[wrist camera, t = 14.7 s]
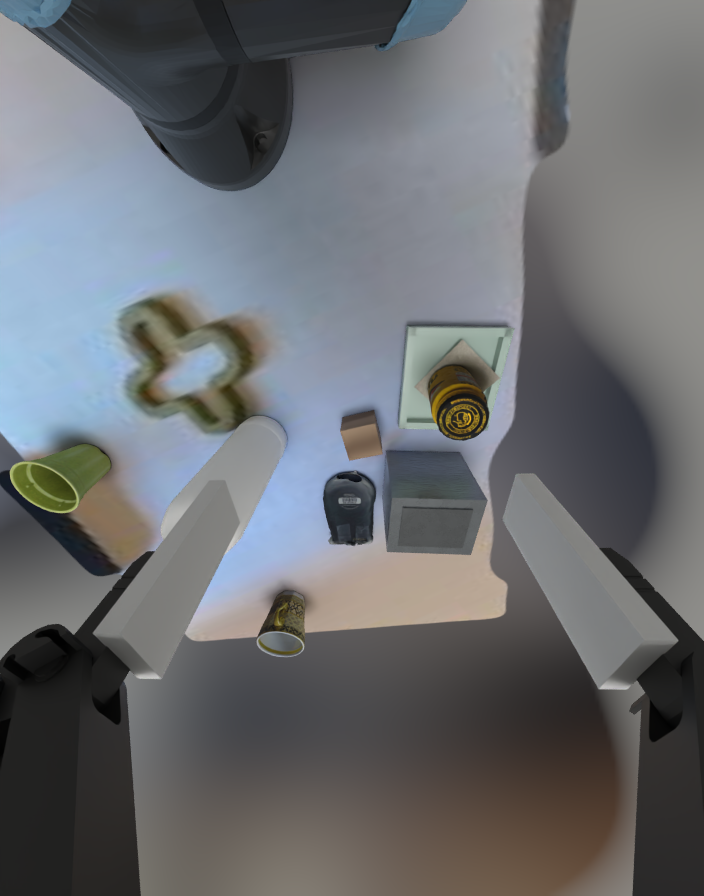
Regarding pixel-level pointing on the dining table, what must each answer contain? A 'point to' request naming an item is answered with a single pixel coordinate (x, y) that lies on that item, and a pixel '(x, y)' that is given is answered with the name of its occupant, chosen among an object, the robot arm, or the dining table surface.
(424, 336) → the tray
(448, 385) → the condiment
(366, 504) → the electronic device
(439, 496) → the unit
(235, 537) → the bottle
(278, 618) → the ceramic cup
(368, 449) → the walnut block
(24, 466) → the plant pot
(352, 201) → the dining table surface
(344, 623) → the dining table surface
